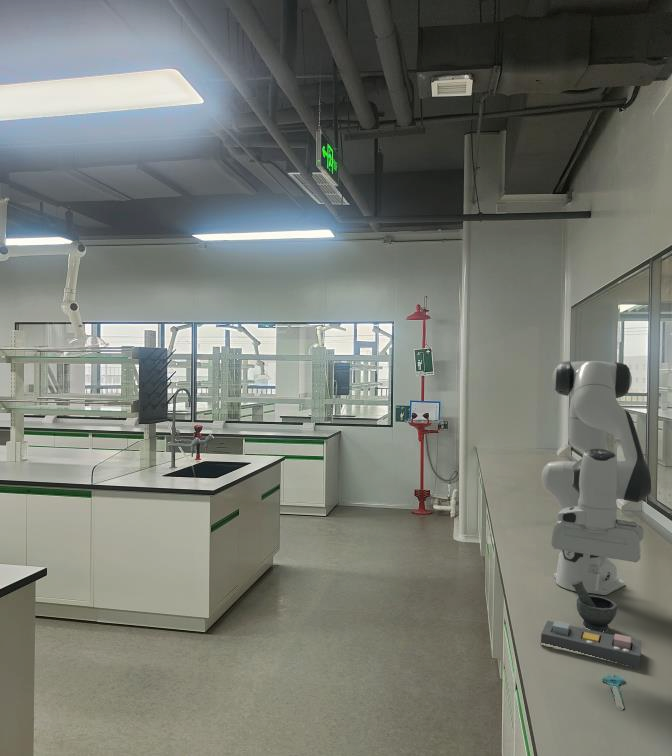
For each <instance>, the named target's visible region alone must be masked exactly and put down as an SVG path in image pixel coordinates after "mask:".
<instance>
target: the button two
mask: <svg viewBox="0 0 672 756" xmlns="http://www.w3.org/2000/svg"><path fill="white" fill-rule="evenodd" d="M614 635H615V636H614V646H616V647H620V648H625V649H629V650H630V648H631V639H632V636H628V635H624V634H619V633H614Z"/></svg>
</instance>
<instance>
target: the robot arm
mask: <svg viewBox="0 0 672 756" xmlns="http://www.w3.org/2000/svg"><path fill="white" fill-rule="evenodd" d="M632 382H633V379H632V373H631V371H630V368H629V366H628V365H627V364H624V363H623V362H617V361H615V362H611V361H610V362H609V361H601V360H589V361H588V360H585V361H583V360H581V361H570V360H567V361H562V362H559V363H558V364H557V365H556V367H555V369H554V371H553V374H552V384H553V387H554V390H555V391H556V392H557V394H559V395H562V396H566V397H568V396H571V398H570V402H569V403H570V404H569V411H568V412H569V413H568V425H567V426H568V431H567V441H568V443H569V444H570V446H571V447H573V448H574V449H575V450H576V451H579V452H581V453H582V458H580V459H579V460H578V461H569V460H557V461H549V462H548V463H546V464H545V465H544V467H543V469H542V471H541V476H540V478H541V479H540V480H541V483H542V485H543V488H544V489H545V491H547V492H548V493H549V494H551V496H553V498H554V499H555V500H556V502H557V503H558V505H559V507H560V510H559V511H558V514H557V522H556V523H555V524H554V526H553V528H552V529H553V530H552V534H551V540H550V542H551V546H552V548H553V549H554V550H559V551H561V552H560V553H559V554H558V560H557V568H556V572H554V573H553V577H554V578H555V583H556V584H557V585H558V586H559V587H562V588H563V589H566V590H568V591H572V592H576V590H575V588H574V587H573V586H572V583H573V582H575V581H577V580H581V581H582V582H583V586H584V588H585V590H586V591H587V593H588V594H595V595H601V596H607V595H609V594H610V593H613V592H615V591H616V590H618V589H620V588H623V587H624V586H625V585H626V583H625V581H624V580H622V579H621V578H619V577H618V576H617V575H618V574H617V566H616V564H615V563H614V562H613V561H611V559H613V560H618V561H619V560H620V561H625V562H631V563H638V562H639V561H640V560H641V556H642V548H641V547H642V546H641V542H642V541H643V540H644V534H645V533H644V528H643V526H641V524H639V523H637V522H635V521H627V520H622V519H617V513H618V503H617V500H623V501H627V502H631V503H639V502H641V501H642V500H644V499H646V498H647V497H648V496H650V494H651V493H652V488H653V480H652V479H653V478H652V475H651V473H650V469H649V466H648V464H647V462H646V460H645V456H644V452H643V450H642V446H641V441H640V440H639V435H638V433H637V429H636V425H635V423H634V420H633V418H632V416H631V414H630V412H629V411H627V410H626V409H624V408H623V407H622V406H621V404H619V402H618V400H617V399H618V398H622V397H624V396H626V395H627V394H628V393H629V390H630V388H631V386H632V384H633V383H632ZM607 433H608V434H610V435H612V436H613V437H615V438H617V440H618V441H619V443H620V445H621V449H622V452H623V458H624V460H618V458H617V455H616V453H615V452H613V451H611V450H609V447H608V442H607V441H608V440H607Z"/></svg>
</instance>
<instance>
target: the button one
mask: <svg viewBox="0 0 672 756" xmlns="http://www.w3.org/2000/svg"><path fill="white" fill-rule="evenodd" d="M582 639H585V640H589V641H594V642H598V643H599V639H600V635H596V634H591V633H587V632H584V634H583V637H582Z"/></svg>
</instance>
